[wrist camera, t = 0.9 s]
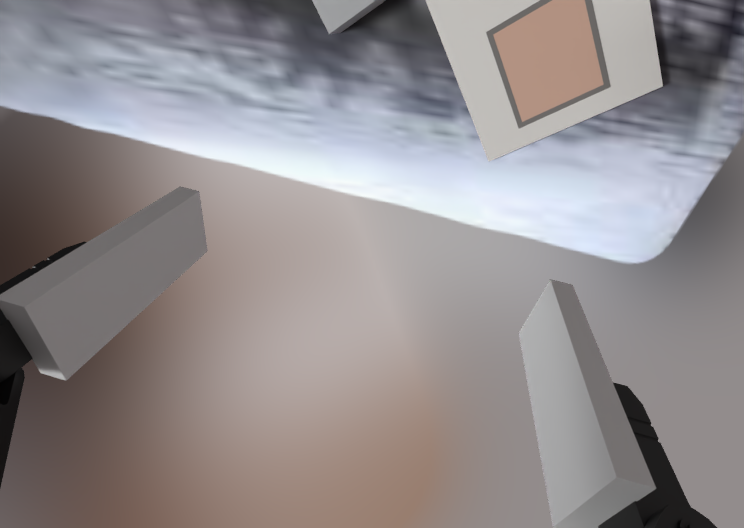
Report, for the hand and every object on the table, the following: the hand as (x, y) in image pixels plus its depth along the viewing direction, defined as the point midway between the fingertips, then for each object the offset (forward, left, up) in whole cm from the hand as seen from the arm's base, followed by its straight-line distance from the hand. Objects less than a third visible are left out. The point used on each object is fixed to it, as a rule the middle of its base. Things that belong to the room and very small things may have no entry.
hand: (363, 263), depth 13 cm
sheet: (-2, +11, -23) cm, 25 cm away
